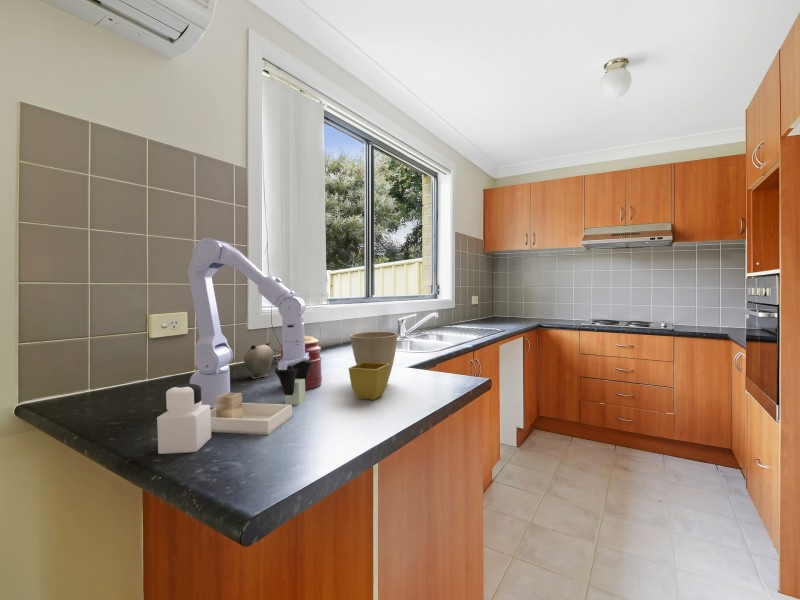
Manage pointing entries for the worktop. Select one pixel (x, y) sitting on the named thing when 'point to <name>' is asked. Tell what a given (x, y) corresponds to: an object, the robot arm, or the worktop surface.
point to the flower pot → (369, 379)
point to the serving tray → (253, 419)
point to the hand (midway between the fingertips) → (295, 390)
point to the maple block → (229, 405)
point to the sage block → (296, 393)
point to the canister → (314, 356)
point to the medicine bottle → (183, 421)
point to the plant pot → (374, 347)
